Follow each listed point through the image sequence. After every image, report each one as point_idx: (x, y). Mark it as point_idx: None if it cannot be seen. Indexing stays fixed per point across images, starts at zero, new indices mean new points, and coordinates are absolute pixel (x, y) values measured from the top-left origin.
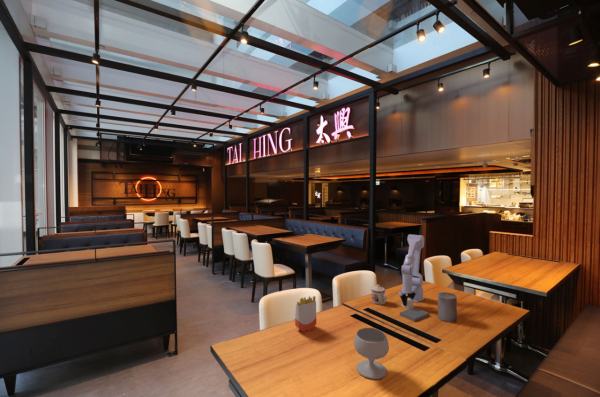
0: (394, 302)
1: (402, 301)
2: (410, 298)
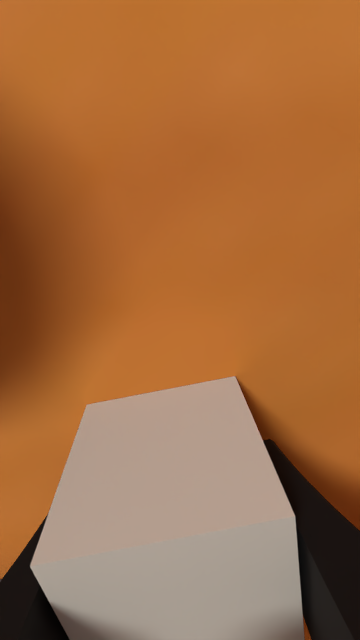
0: (62, 176)
1: (27, 558)
2: (300, 608)
